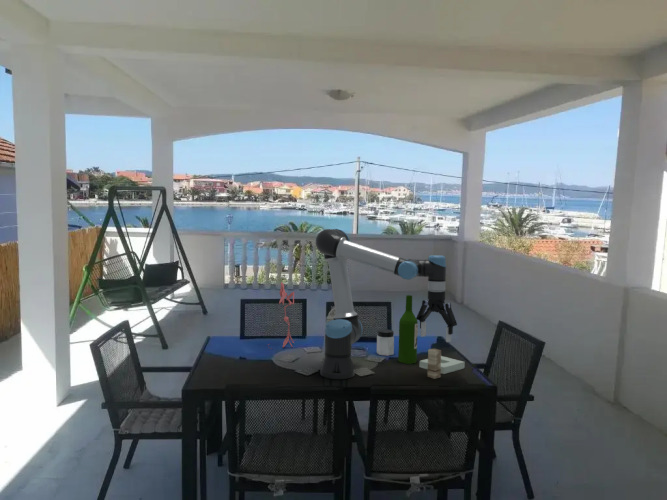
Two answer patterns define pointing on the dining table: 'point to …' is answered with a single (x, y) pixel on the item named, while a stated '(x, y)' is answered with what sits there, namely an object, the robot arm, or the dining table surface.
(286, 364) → the dining table surface
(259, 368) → the dining table surface
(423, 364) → the plinth
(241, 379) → the dining table surface
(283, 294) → the figurine
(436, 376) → the peg
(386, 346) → the jar
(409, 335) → the wine bottle
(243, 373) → the dining table surface
